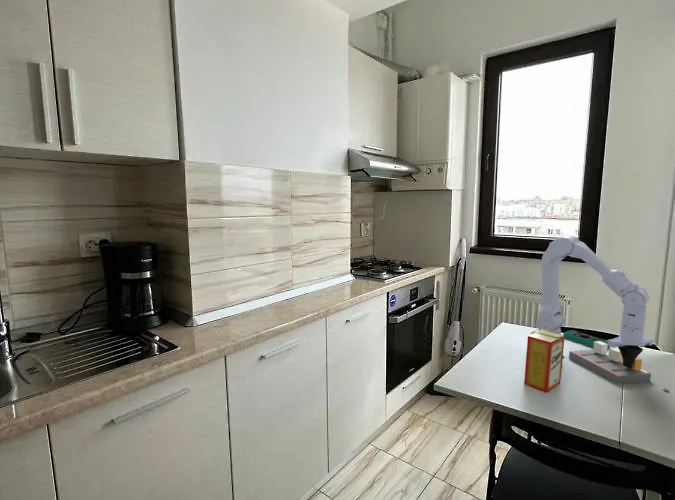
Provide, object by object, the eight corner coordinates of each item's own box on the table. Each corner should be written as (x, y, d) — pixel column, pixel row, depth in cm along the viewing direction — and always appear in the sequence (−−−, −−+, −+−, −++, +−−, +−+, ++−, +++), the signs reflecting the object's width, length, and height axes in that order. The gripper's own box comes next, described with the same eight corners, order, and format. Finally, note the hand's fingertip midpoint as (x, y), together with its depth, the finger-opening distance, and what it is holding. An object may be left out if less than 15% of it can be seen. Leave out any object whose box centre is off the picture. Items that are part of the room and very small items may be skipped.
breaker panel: (617, 383, 111) (619, 364, 110) (568, 357, 129) (570, 340, 129) (650, 381, 113) (652, 361, 112) (597, 355, 131) (599, 338, 130)
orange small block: (634, 370, 114) (635, 359, 113) (625, 366, 117) (626, 355, 116) (640, 369, 114) (642, 359, 114) (631, 365, 117) (633, 355, 116)
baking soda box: (546, 393, 105) (551, 341, 103) (524, 384, 111) (527, 334, 108) (560, 383, 111) (564, 334, 109) (538, 375, 116) (542, 328, 114)
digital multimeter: (571, 335, 153) (572, 328, 152) (610, 348, 139) (611, 340, 139) (560, 338, 149) (561, 331, 149) (599, 351, 136) (600, 344, 136)
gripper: (624, 331, 108) (619, 374, 110) (664, 329, 110) (659, 371, 112) (603, 324, 115) (599, 364, 117) (642, 322, 117) (637, 361, 119)
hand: (627, 367), depth 115 cm, fingers closed
